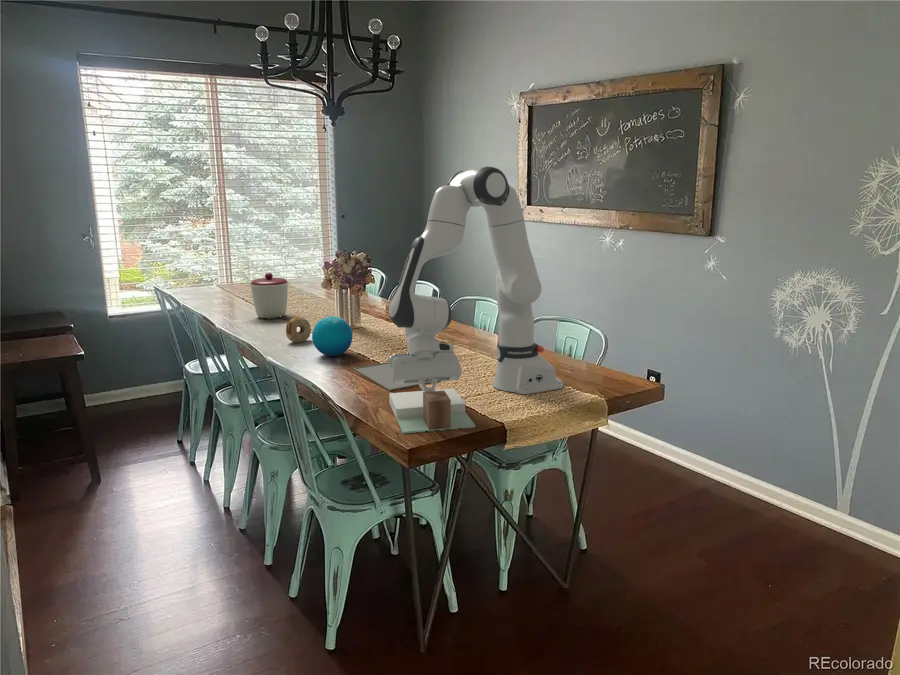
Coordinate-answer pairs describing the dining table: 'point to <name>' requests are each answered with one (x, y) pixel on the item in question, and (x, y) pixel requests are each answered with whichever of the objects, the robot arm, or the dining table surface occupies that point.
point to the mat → (420, 426)
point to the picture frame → (382, 376)
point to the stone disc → (292, 329)
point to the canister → (270, 296)
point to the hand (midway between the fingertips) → (429, 394)
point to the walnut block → (436, 410)
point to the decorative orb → (332, 336)
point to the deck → (420, 403)
